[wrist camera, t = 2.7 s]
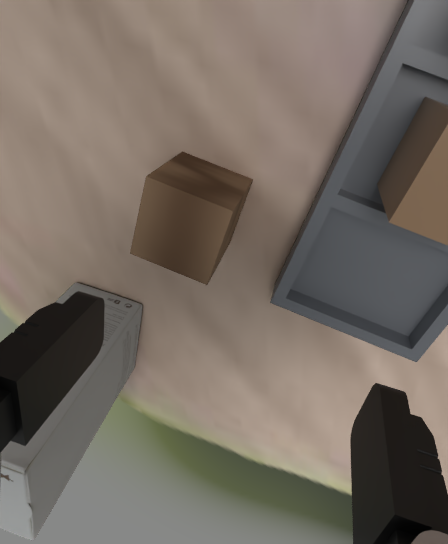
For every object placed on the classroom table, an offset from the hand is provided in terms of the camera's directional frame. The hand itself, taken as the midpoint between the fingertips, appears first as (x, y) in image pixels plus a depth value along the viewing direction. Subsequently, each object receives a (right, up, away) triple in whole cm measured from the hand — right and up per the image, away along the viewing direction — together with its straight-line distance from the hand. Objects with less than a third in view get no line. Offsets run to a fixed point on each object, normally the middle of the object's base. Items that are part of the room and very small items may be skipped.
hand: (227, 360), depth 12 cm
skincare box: (-10, -2, +24) cm, 26 cm away
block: (-1, +8, +16) cm, 18 cm away
